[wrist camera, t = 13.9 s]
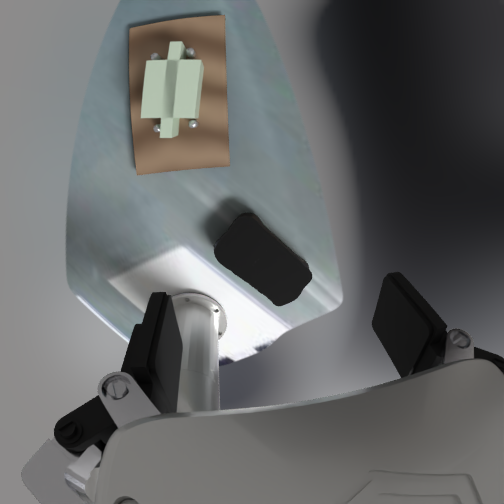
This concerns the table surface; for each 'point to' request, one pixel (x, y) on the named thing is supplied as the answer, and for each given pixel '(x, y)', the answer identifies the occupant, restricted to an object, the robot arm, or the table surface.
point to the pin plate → (211, 102)
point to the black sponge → (262, 260)
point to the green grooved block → (172, 89)
